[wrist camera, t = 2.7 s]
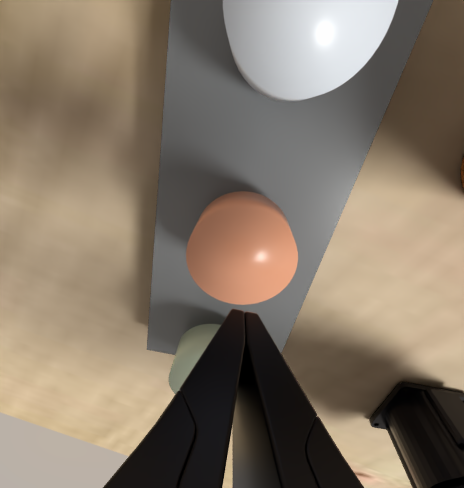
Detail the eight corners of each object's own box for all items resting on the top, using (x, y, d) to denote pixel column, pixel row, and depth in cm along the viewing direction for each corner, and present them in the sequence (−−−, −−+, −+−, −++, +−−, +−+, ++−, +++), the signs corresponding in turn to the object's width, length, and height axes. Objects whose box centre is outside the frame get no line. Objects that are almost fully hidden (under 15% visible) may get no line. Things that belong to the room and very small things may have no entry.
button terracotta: (274, 283, 15) (279, 313, 13) (190, 266, 15) (180, 293, 12) (302, 203, 12) (314, 222, 10) (203, 181, 12) (193, 195, 10)
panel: (270, 352, 22) (272, 373, 20) (155, 330, 21) (146, 349, 19) (410, 3, 11) (441, -19, 9) (188, -54, 11) (176, -87, 9)
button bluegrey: (333, 114, 11) (355, 113, 8) (218, 86, 10) (209, 79, 8) (391, -51, 8) (442, -111, 6) (245, -90, 8) (243, -167, 6)
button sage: (241, 379, 19) (240, 414, 17) (175, 367, 19) (165, 401, 16) (257, 331, 17) (259, 365, 14) (182, 317, 16) (172, 349, 14)
